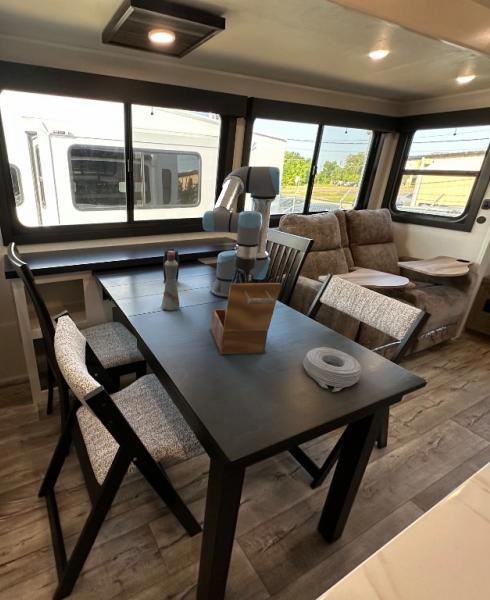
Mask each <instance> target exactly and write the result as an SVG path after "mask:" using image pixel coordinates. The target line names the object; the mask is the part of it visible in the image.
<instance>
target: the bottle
mask: <svg viewBox="0 0 490 600" xmlns="http://www.w3.org/2000/svg"><path fill="white" fill-rule="evenodd" d="M167 256H168V260H167V261H166V262H165V264H164V265H165V272H166V282H164V290H163V296H162V303H161V308H162V309H163V310H166V311H171V312H172V311H178V309H179V308H180V297H179V291H178V290H179V289H178V281H177V282H176V273H177V267H178V263H177V262H176V261H175V260H174V259H175V253H173V252H170V253H168V254H167Z"/></svg>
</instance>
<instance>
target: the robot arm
mask: <svg viewBox="0 0 490 600" xmlns="http://www.w3.org/2000/svg"><path fill="white" fill-rule="evenodd" d="M241 194H250V195H249V196H250V197H249V198H250V199H251V200H252V207H251V208H252V209H251V210H243V211H240V212H234V209H235V208H236V207H235V206H236V204H237V201H238V199H239V196H240V195H241ZM280 194H281V169H280V168H279V167H277V166H269V165H268V166H252V165H251V166H249V165H246V166H242V167H239V168H236V169H234V170H233V171H231V172H230V173H229V174H228V175H227V176H226V177H225V178H224V180H223V183H222V190H221V192H220V195H219V197H218V199H217V201H216V203H215V205H214V207H213V210H206V211H204V213H203V215H202V228H203V230H204V231H207V232H211V233H214V232H215V233H227V234H228V233H229V234H236V244H235V247H234V250H225V251H221V252H220V253H219V254H218V255H217V261H216V274H215V275H216V276H215V280H214V283H213V285H212V288H211V294H212V295H213V296H215V297H218V298H222V299H228V297H229V291H230V285H231V283H254V280H265V279H266V276H267V273H268V270H269V267H270V266H269V265H270V262H271V258H270V257H269V253H268V252H267V251H266V248H267V243H268V242H267V241H268V236H269V235H268V234H269V226H270V219H271V213H272V212H271V211H272V204H273V202H274V201H275V200H276V199H277V196H279V195H280Z"/></svg>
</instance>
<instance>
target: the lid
mask: <svg viewBox="0 0 490 600" xmlns="http://www.w3.org/2000/svg"><path fill="white" fill-rule="evenodd" d="M281 285H282V284H281V282H253V283H231V285H230V291H229V297H228V298H227V304H226V308H225V309H226V315H225V321H224V327H223V330H224V331H233V330H268V331H269V329H270V326H271V322H272V319H273V315H274V311H275V307H276V305H277V301H278V297H279V294H280V290H281Z"/></svg>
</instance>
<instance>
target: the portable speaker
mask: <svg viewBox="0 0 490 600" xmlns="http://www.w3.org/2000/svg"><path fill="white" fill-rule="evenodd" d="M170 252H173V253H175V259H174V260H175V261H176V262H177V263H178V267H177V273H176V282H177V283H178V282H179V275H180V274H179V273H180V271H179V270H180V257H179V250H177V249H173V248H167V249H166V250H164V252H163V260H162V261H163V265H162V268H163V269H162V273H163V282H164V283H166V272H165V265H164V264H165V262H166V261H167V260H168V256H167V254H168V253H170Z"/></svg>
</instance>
